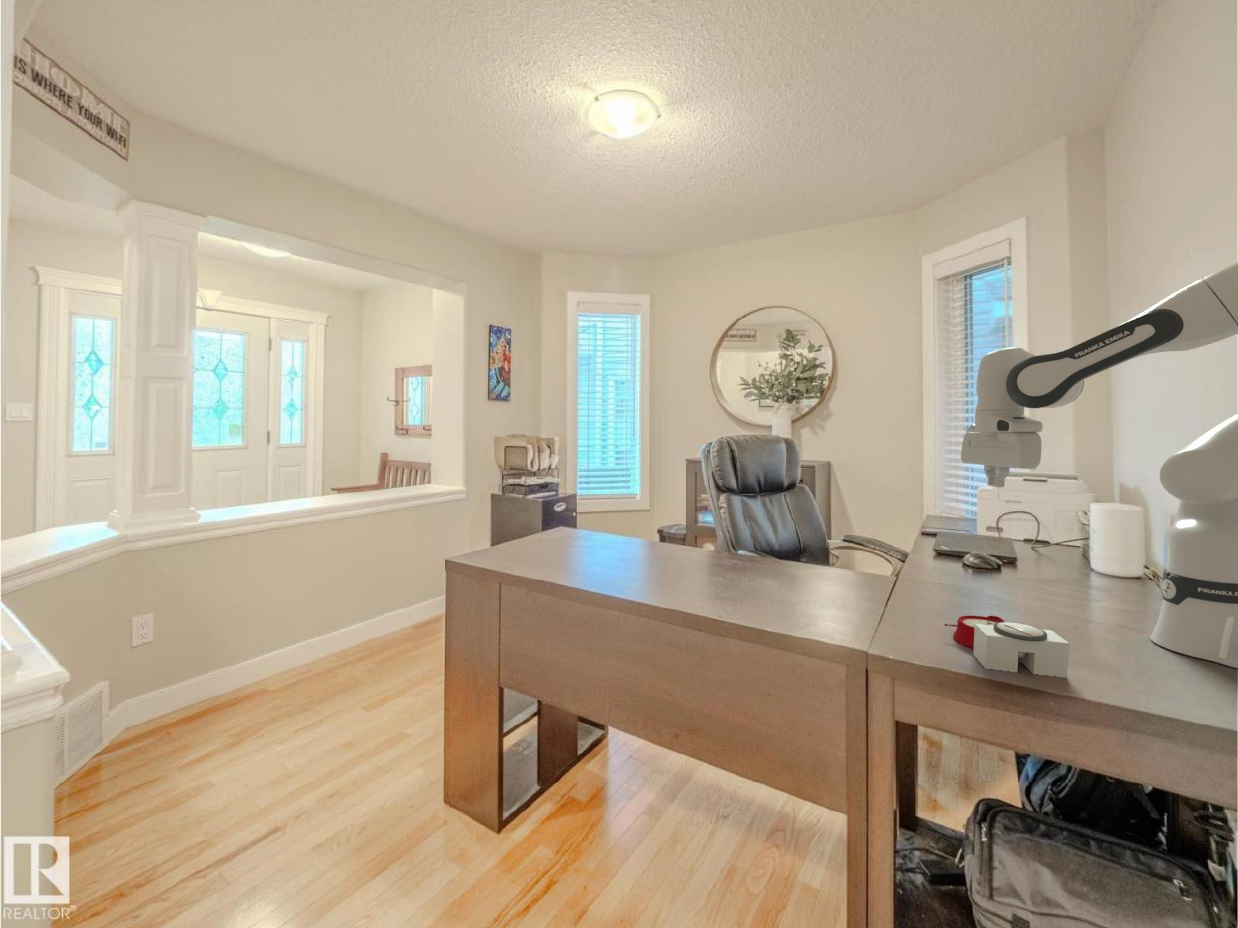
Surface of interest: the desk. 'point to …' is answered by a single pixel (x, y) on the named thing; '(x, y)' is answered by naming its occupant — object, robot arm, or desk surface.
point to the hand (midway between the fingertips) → (995, 486)
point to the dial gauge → (1021, 648)
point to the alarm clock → (971, 627)
